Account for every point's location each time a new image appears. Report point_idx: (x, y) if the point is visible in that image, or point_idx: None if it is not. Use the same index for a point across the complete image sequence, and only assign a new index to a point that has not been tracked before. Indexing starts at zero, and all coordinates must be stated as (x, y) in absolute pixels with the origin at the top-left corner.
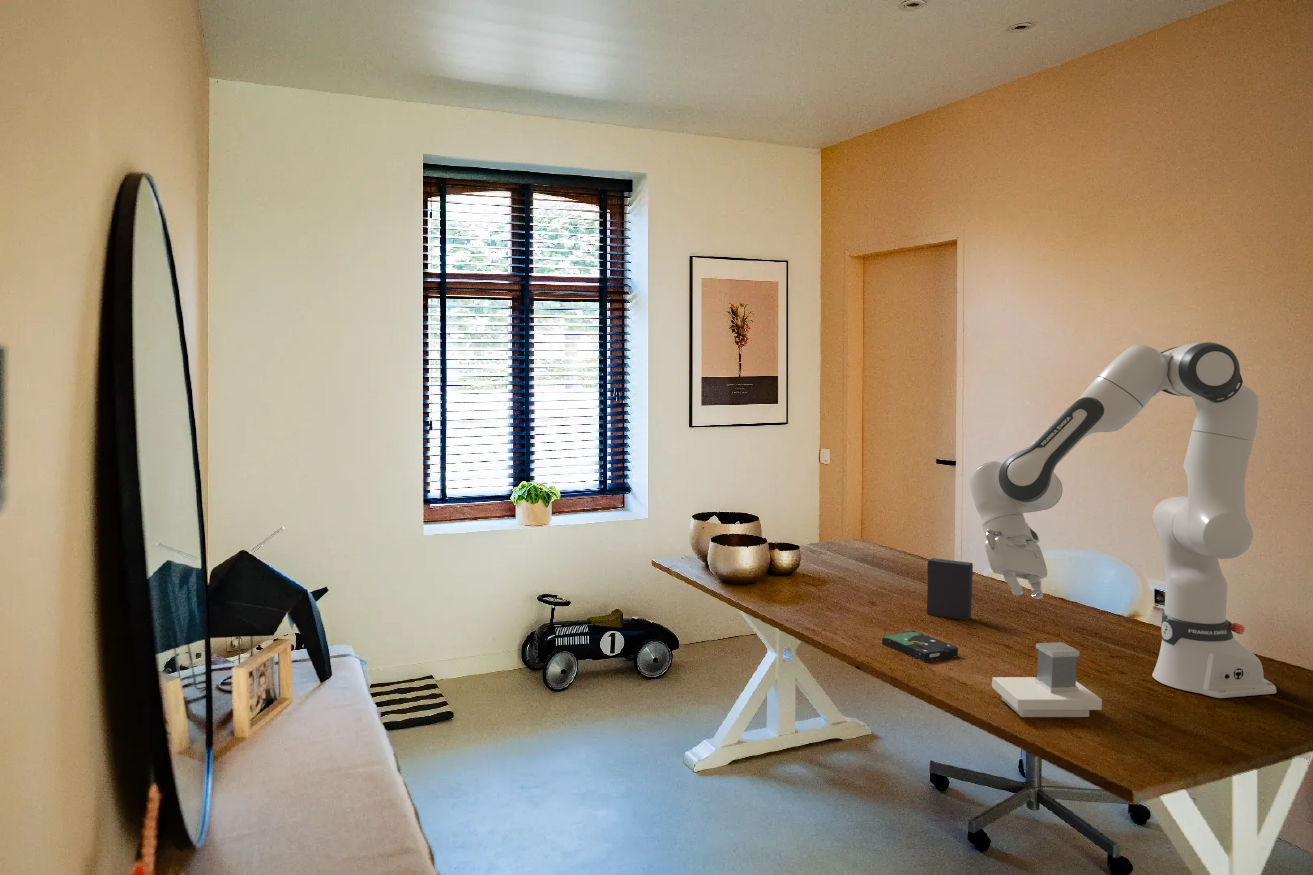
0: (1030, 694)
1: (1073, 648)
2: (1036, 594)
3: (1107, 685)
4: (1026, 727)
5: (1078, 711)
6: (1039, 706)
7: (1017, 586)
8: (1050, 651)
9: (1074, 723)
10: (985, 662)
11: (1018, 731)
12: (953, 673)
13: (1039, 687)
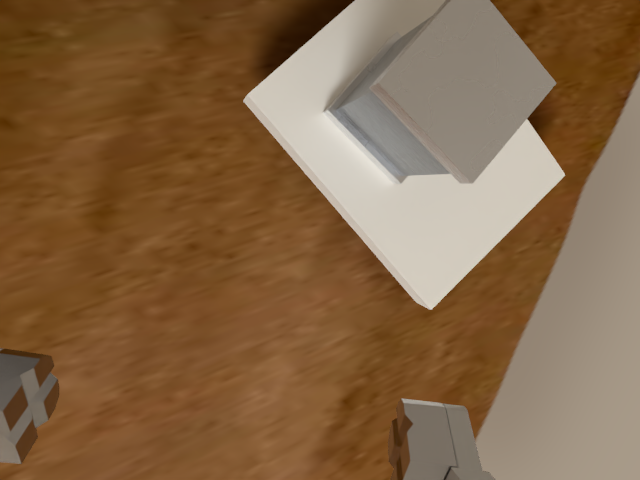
0: (505, 158)
1: (444, 12)
2: (32, 394)
3: (2, 15)
4: (552, 141)
5: None
6: None
7: (477, 463)
8: (545, 94)
9: None
10: (81, 457)
11: (585, 149)
12: (282, 469)
13: None
